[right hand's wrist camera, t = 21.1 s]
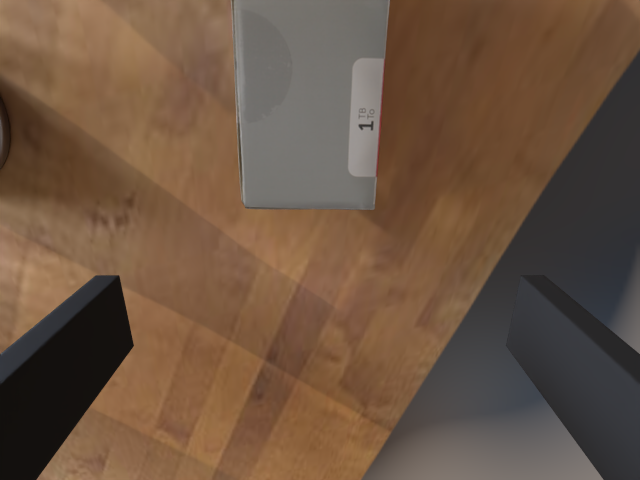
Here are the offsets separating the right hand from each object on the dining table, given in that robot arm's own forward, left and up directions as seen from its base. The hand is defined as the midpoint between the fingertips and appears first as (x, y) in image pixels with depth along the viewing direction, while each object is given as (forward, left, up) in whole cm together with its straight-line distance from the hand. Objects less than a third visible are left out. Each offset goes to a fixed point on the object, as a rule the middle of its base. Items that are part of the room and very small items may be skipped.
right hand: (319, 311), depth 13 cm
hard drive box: (-6, +6, -29) cm, 30 cm away
